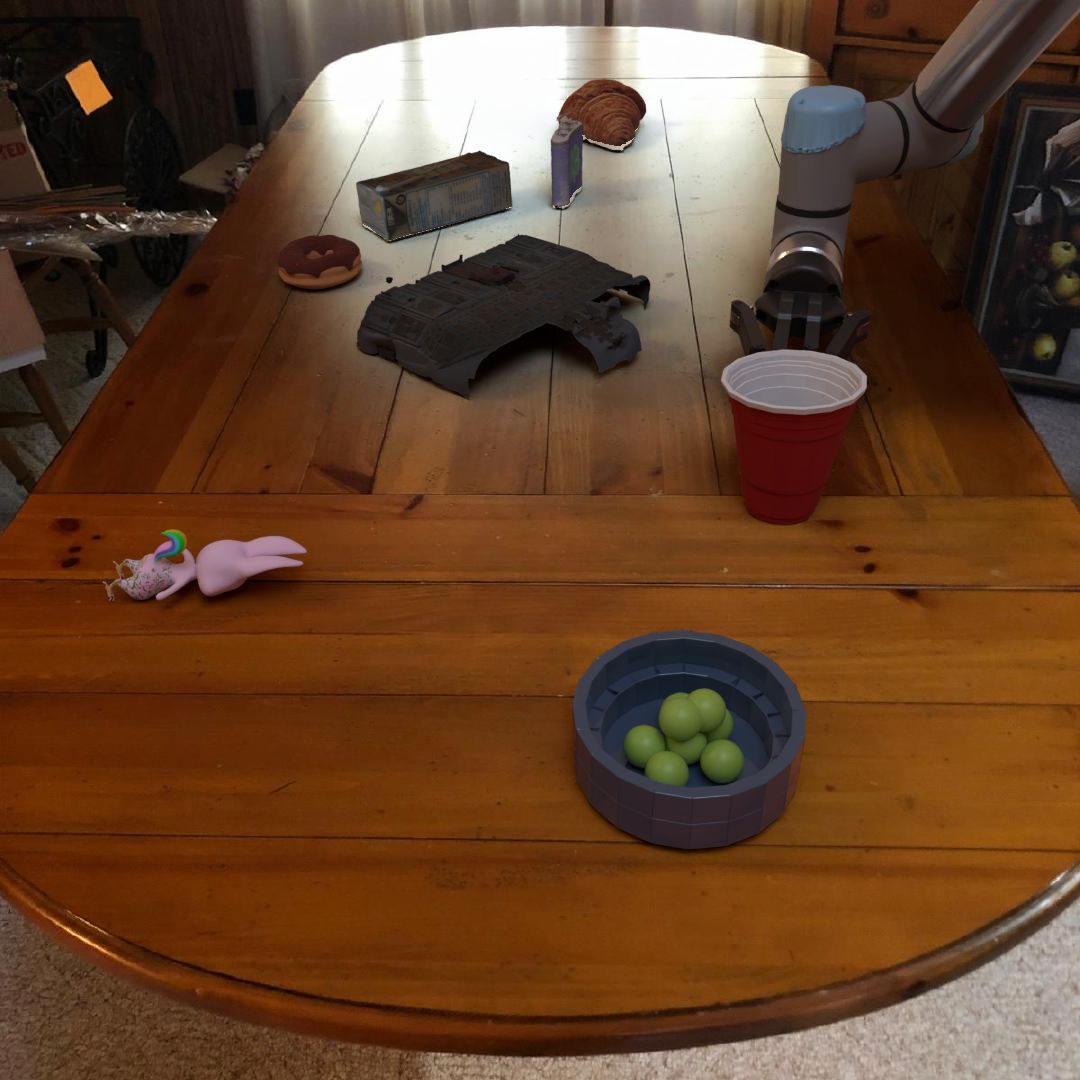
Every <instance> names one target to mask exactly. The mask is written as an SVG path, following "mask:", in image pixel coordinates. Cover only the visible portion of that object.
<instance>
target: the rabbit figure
mask: <svg viewBox="0 0 1080 1080" xmlns="http://www.w3.org/2000/svg"><path fill="white" fill-rule="evenodd" d="M161 534H162V535H164V536H166V537H168V539H169V540H168V541H165V542H164V543H161V544H160V545H159V546H158V547H157V548H156V550H155V551H154V553H148V554H146V555H144V556H143V557H142V558H141V559H136V560H135V559H131V558H125V559H124V560H123V562H121V563H120V564H119V563H117V562H116V561H114V560H113V561H112V563H113V564H115V569H116V571H117V575H118V577H119V578H116V579H115V580H114V581H113V582H111V583H110V584H109V583H107V582H106V581H102V584H104V585H105V587H104V589H105V591H106V593H107V597H108V598H109V599H108V601H109V602H111V600H112V602H114V601H116V600H115V599H116V598H115V591H114V588H115V587H116V586H118V587H119V588H121V590H123V591H124V592H125V593H126V594H127V595H128V596H129V597H131V598H132V599H134V600H137V601H145V600H148V599H150V598H152V597H155V599H156V600H157V601H163V600H165V599H166V598H168V597H170V596H171V595H173V594H174V593H176V592H178V591H179V590H181V589H182V588H183V587H185V586H186V585H188V584H189V583H191V582H193V581H194V580H197V582H198V586H199V589H200V591H201V593H202V594H204V595H205V596H207V597H216V596H218V595H220V594H223V593H225V592H230V591H232V590H235V589H238V588H239V587H241V586H242V585H244V583H245V582H246V581H247V579H248V578H250V577H253V576H256V575H259V574H261V573H264V572H267V571H270V570H275V569H280V568H295V567H301V566H303V565H304V562H303V560H302V561H301V560H297V559H294V558H289V557H286V556H290V555H305V554H307V553H308V551H307V549H306V548H305V547H304V546H303V545H301V544H299V543H298V542H296V541H295V540H293V539H291V538H288V537H285V536H282V535H269V536H267V535H266V536H261V537H258V538H255V539H252V540H250V541H240V540H235V539H221V540H216V541H213V542H211V543H209V544H207V545H206V546H204V547H202V549H201V550H200V551H199V553H198V555H197V557H196V559H195V558H194V555H193V554H192V553H191V552H190V550H188V549H187V546H188V538H187V535H186V534H185V533H184V532H183V531H181V530H179V529H167V530H164V531H163V532H161V533H160V535H161ZM179 555H182V556H183V558H184V560H183V562H180V563H174V562H171V561H170V560H168V559H167V558H173V557H177V556H179ZM125 567H128V568H129V569H130V571H131V573H132V574H133V575H131V576H130V577H128V578H126V576H125V573H126V572H125V570H124V568H125ZM122 577H123V578H122Z"/></svg>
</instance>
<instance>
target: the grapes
mask: <svg viewBox="0 0 1080 1080" xmlns="http://www.w3.org/2000/svg"><path fill="white" fill-rule="evenodd" d="M659 725H660V728H661V730H662V731H663V733H664V734H665V739H664V737H663V735H662V734H661V732H660V731H659V730H657V729H656V728H654V727H652V726H649V725H640V726H636V727H634V728H633V729H631V730H630V731H629V732H628V733H627V735H626V737H625V739H624V742H623V750H624V754H625V756H626V758H627V760H628V761H629V762H630V763H631V764H633V765H634V766H636V767H639V768H645V777H647V778H649V779H651V780H654V781H656V782H658V783H665V784H671V785H677V786H683V787H685V786H686V784H687V781H688V778H689V770H688V766H687V765H690V764H694V763H696V762H698V761H699V760H700V764H701V768H702V771H703V772H704V774H705V775H706V776H707V777H708V778H709V779H710V780H712V781H714V782H717V783H729V782H732V781H734V780H735V779H737V778H738V777H739V776H740V774H741V773H742V770H743V767H744V756H743V753H742V751H741V750H740V748H739V747H738V746H737V745H736V744H735V743H733V742H731V741H729V740H727V739H728V738H729V737H730V735H731V733H732V731H733V718H732V716H731V714H730V712H729V711H728V710H727V709H726V705H725V702H724V700H723V699H722V697H721V696H720V695H719V694H718V693H716V692H715V691H713V690H710V689H698V690H695V691H693V692H692V693H690V694H687V693H674V694H672V695H670V696H668V697H667V698H666V699H665V700H664V702H663V703H662V706H661V709H660V713H659Z"/></svg>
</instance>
